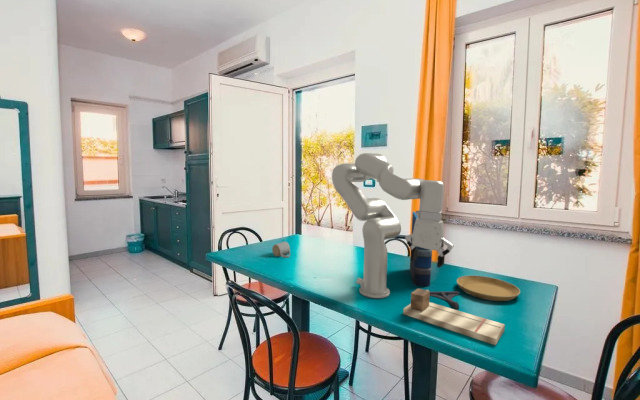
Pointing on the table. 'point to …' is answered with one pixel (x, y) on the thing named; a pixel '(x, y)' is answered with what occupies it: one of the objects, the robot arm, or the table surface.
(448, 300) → the bracket
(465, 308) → the table surface
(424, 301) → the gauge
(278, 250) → the ceramic mug
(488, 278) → the plant saucer
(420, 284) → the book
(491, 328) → the board
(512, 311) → the table surface
